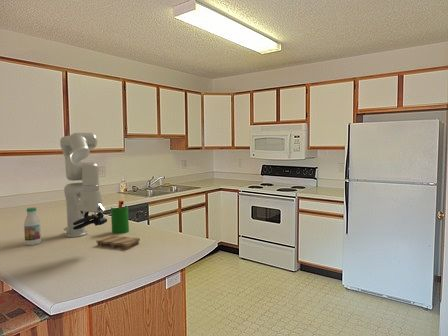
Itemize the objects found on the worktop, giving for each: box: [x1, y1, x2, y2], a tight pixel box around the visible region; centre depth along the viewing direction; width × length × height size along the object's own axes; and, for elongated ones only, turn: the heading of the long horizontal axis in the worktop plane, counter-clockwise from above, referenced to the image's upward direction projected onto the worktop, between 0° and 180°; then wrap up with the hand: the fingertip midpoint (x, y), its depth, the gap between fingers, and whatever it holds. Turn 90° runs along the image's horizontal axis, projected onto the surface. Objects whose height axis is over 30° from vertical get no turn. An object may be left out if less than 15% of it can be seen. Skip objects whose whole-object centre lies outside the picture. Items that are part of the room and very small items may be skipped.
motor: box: [110, 200, 130, 235], centre depth 203 cm, size 10×9×20 cm
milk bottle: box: [23, 206, 42, 246], centre depth 181 cm, size 8×8×20 cm
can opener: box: [73, 212, 108, 230], centre depth 161 cm, size 18×7×6 cm, turn 147°
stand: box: [95, 234, 141, 251], centre depth 177 cm, size 20×11×3 cm, turn 69°
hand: (92, 224), depth 162 cm, fingers closed on can opener, 6 cm apart
